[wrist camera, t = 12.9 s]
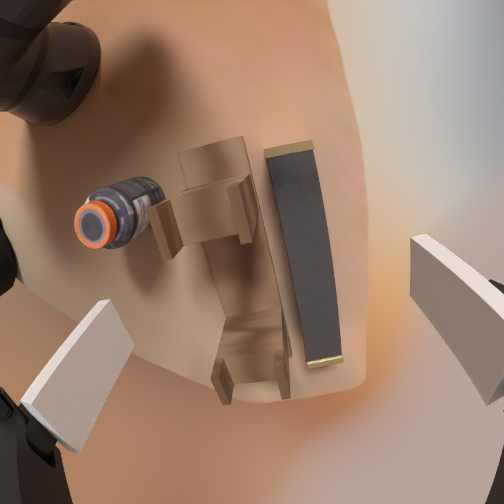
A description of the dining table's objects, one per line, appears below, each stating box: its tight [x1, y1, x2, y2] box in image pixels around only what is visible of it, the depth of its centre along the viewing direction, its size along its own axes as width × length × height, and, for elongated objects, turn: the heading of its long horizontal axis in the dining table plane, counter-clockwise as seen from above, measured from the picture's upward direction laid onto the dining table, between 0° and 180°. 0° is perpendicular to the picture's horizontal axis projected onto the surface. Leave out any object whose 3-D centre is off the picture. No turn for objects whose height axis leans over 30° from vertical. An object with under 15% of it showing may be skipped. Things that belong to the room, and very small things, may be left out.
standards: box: [146, 136, 292, 405], centre depth 27 cm, size 7×28×12 cm, turn 13°
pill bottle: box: [74, 177, 165, 249], centre depth 26 cm, size 6×6×11 cm
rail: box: [263, 140, 343, 369], centre depth 29 cm, size 24×4×6 cm, turn 13°
